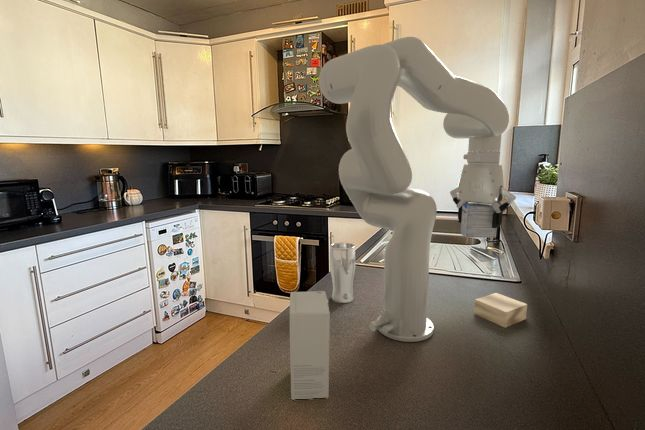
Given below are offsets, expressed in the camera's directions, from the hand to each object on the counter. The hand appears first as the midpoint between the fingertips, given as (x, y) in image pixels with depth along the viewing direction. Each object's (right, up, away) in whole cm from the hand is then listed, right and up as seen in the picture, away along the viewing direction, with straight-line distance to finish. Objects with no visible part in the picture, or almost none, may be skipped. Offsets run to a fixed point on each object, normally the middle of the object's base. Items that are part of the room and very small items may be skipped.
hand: (478, 224), depth 93 cm
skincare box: (-44, -27, -32) cm, 61 cm away
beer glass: (-36, -21, +2) cm, 42 cm away
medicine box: (0, -3, +1) cm, 3 cm away
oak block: (+1, -22, -9) cm, 24 cm away
